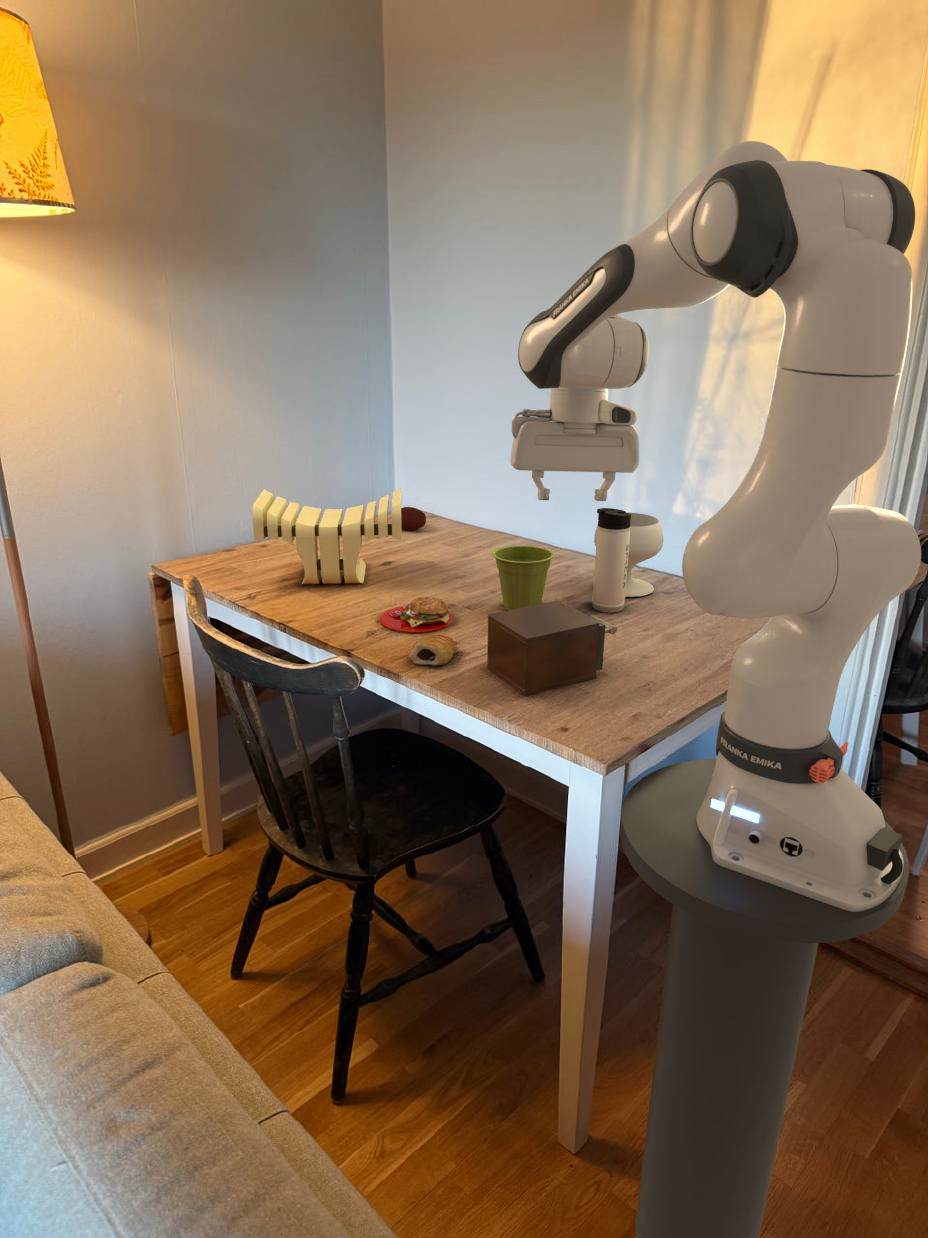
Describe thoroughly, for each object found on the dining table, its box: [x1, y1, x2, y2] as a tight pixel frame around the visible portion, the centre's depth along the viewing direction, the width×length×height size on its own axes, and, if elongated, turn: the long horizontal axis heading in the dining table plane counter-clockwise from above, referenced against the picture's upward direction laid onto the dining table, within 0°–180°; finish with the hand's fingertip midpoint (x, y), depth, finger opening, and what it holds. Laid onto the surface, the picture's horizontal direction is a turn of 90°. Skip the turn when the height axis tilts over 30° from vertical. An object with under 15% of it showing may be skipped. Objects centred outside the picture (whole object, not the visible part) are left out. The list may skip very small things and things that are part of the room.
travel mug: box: [591, 507, 631, 614], centre depth 160 cm, size 6×7×20 cm
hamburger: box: [379, 596, 455, 633], centre depth 156 cm, size 14×14×6 cm
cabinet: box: [486, 600, 600, 697], centre depth 133 cm, size 14×12×10 cm
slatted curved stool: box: [252, 487, 403, 585], centre depth 178 cm, size 30×16×18 cm, turn 94°
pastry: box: [409, 633, 456, 667], centre depth 140 cm, size 9×7×4 cm
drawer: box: [566, 604, 618, 672], centre depth 135 cm, size 17×10×8 cm, turn 119°
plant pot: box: [492, 545, 555, 611], centre depth 161 cm, size 12×12×11 cm
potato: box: [401, 506, 427, 531], centre depth 216 cm, size 8×9×6 cm
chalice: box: [593, 512, 664, 598], centre depth 171 cm, size 14×14×15 cm
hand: (571, 500), depth 131 cm, fingers open, 8 cm apart
